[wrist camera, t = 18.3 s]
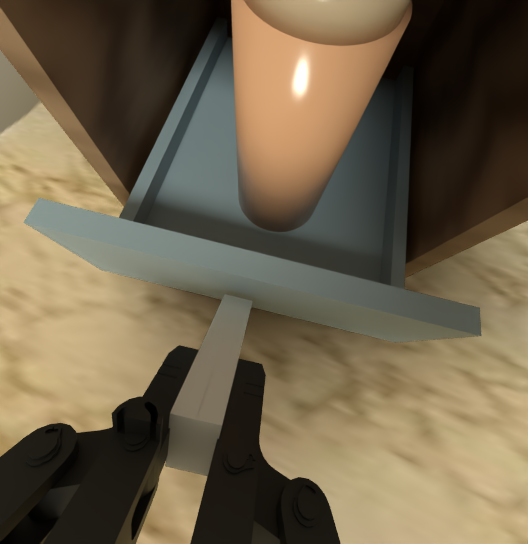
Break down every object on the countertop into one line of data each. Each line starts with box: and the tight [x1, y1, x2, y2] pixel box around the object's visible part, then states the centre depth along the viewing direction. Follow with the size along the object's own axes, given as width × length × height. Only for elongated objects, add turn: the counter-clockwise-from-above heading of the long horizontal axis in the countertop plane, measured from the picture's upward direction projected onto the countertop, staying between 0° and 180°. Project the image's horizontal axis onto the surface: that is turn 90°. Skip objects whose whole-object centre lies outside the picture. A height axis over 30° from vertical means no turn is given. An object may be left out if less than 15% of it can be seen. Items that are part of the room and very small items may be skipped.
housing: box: [0, 0, 528, 278], centre depth 14 cm, size 22×20×16 cm
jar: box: [231, 0, 412, 232], centre depth 11 cm, size 5×5×11 cm
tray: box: [24, 17, 481, 343], centre depth 17 cm, size 22×19×6 cm
